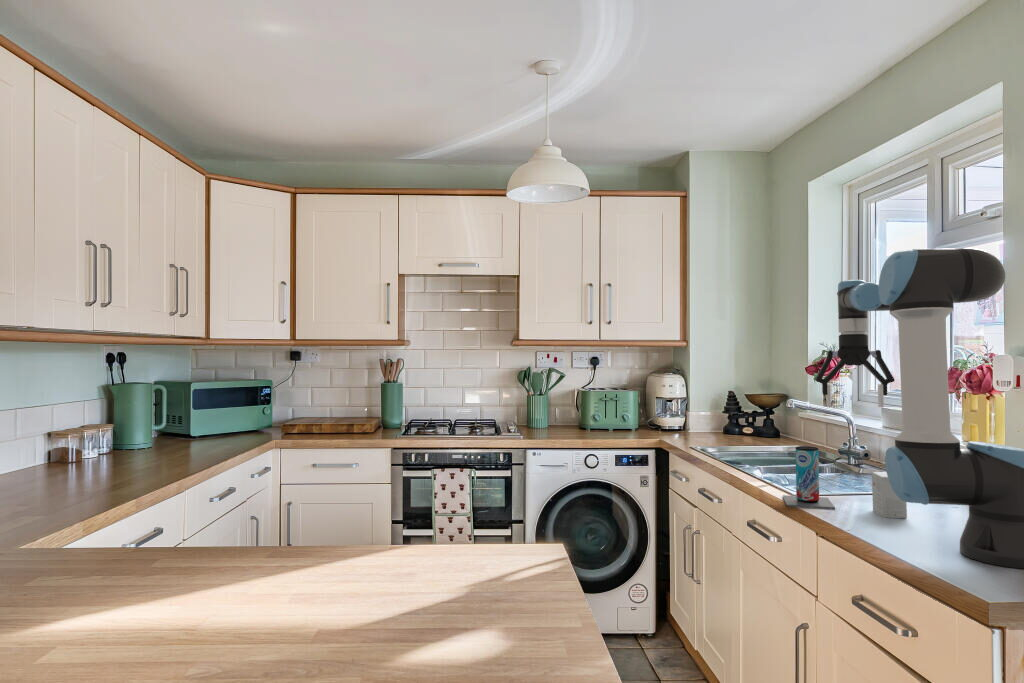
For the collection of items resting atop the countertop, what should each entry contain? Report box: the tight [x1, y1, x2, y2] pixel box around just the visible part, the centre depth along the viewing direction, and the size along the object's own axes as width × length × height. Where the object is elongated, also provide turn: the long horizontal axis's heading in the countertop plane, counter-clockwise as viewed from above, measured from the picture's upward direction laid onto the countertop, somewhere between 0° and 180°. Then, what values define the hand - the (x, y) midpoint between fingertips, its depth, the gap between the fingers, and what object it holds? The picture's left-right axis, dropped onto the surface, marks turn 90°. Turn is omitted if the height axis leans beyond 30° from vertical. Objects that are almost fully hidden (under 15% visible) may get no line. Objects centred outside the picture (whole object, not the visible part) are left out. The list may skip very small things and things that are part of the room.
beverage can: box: [795, 445, 820, 503], centre depth 181 cm, size 6×6×15 cm
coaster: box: [782, 494, 836, 510], centre depth 181 cm, size 12×12×1 cm
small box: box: [871, 471, 908, 519], centre depth 167 cm, size 8×6×10 cm
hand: (854, 406), depth 185 cm, fingers open, 13 cm apart
